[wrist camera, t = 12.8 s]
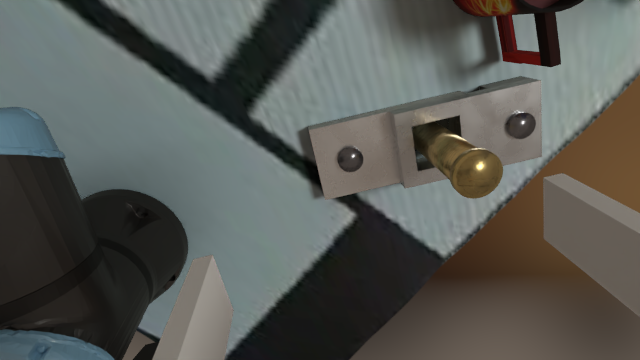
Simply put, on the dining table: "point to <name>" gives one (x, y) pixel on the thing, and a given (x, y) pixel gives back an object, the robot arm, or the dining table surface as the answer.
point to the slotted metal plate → (396, 123)
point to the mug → (503, 5)
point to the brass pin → (458, 160)
